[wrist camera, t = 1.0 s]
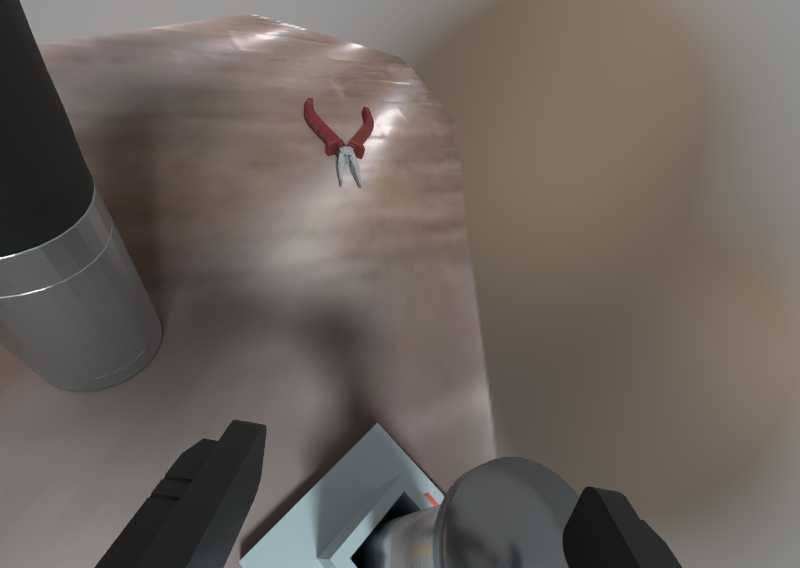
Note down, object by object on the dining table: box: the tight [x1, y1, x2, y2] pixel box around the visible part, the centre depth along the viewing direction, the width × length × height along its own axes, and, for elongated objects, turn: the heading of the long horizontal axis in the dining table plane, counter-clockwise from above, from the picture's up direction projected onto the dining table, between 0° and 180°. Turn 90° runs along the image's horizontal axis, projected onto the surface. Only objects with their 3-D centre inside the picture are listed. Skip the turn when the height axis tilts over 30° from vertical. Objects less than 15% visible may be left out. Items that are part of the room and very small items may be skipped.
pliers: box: [304, 98, 374, 188], centre depth 58 cm, size 12×20×3 cm, turn 11°
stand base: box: [239, 422, 445, 568], centre depth 26 cm, size 14×14×10 cm
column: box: [352, 457, 580, 568], centre depth 20 cm, size 6×6×21 cm
